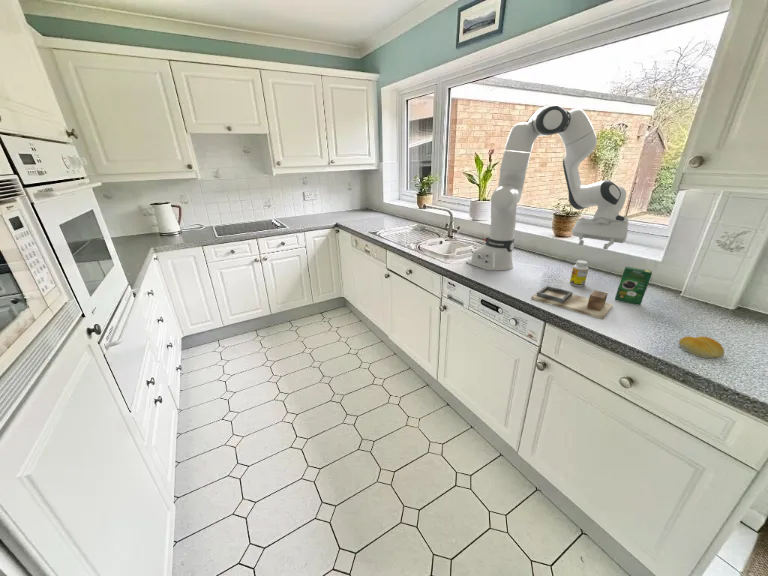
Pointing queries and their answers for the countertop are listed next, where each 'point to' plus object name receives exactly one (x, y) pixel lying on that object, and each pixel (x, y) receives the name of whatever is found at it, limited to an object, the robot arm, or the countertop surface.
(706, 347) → the bread roll
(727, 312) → the countertop surface
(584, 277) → the supplement bottle
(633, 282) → the coffee box
